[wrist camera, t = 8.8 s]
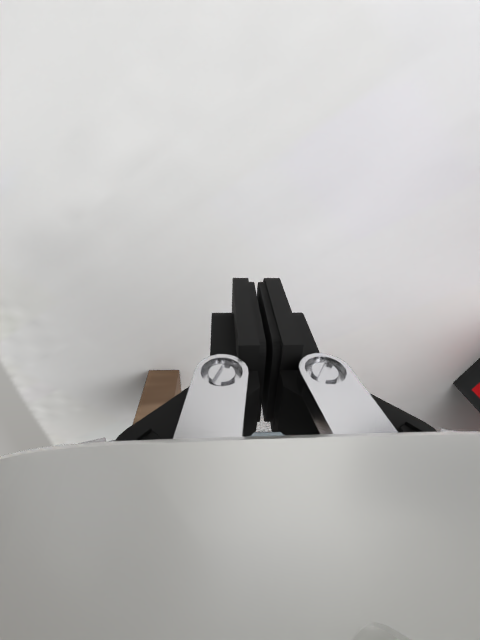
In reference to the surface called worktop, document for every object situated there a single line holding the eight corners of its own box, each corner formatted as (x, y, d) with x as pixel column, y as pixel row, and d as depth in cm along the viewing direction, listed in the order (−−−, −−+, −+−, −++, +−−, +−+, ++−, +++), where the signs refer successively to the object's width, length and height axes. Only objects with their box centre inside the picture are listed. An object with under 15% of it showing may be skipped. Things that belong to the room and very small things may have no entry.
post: (149, 370, 28) (124, 449, 21) (179, 370, 28) (164, 448, 21) (152, 392, 29) (130, 473, 22) (181, 392, 29) (168, 472, 22)
